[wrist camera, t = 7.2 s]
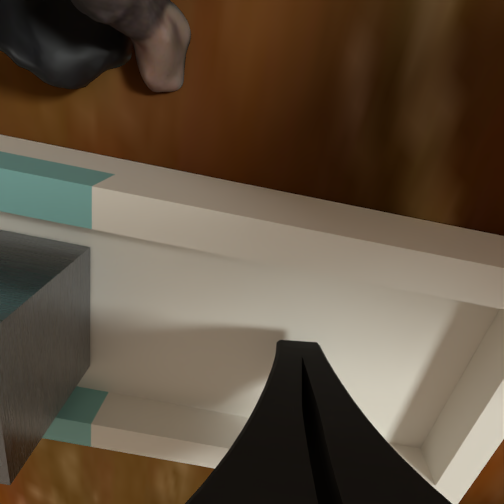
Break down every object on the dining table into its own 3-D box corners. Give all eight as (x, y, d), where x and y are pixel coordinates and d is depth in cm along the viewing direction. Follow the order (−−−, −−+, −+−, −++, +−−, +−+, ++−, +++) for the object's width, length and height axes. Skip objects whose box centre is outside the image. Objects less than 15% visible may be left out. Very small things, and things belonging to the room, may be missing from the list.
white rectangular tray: (524, 240, 13) (608, 289, 10) (396, 472, 18) (423, 553, 15) (-95, 115, 12) (-226, 123, 9) (-39, 394, 17) (-108, 461, 14)
